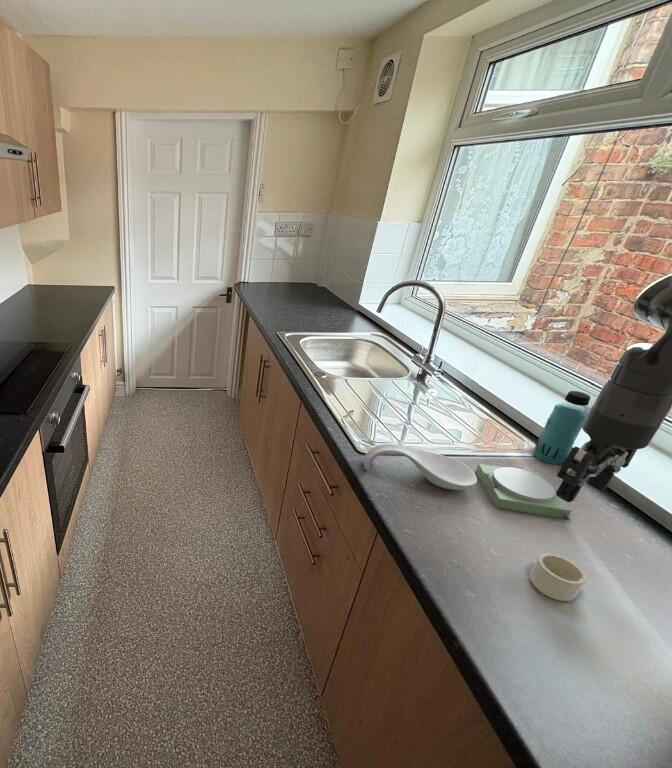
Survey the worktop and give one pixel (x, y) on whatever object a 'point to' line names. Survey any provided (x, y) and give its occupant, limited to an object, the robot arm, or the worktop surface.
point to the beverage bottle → (562, 428)
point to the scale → (521, 491)
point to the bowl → (557, 577)
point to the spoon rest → (429, 466)
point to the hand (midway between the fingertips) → (579, 492)
